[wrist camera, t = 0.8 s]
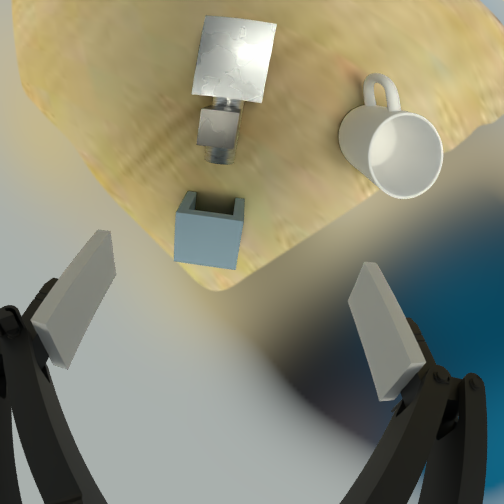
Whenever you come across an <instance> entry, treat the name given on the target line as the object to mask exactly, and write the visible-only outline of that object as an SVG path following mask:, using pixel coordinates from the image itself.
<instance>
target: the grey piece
mask: <svg viewBox="0 0 504 504" xmlns="http://www.w3.org/2000/svg"><path fill="white" fill-rule="evenodd" d="M243 106H244V100H239V99H232V98H224V97H215V96H213V102H212V105H210V106H208V107H205V108H202V109H201V115H200V122H199V129H198V137H197V145H202V146H206V151H205V160H206V161H208V162H211V163H215V164H233V163H234V160H235V154H236V147H237V141H238V135H239V129H240V123H241V117H242V112H243Z"/></svg>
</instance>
